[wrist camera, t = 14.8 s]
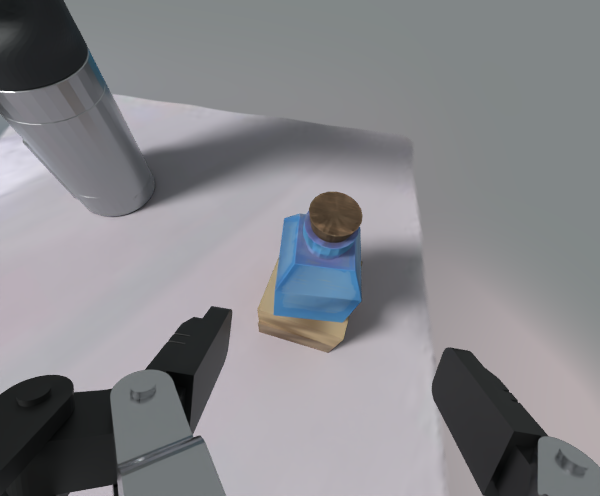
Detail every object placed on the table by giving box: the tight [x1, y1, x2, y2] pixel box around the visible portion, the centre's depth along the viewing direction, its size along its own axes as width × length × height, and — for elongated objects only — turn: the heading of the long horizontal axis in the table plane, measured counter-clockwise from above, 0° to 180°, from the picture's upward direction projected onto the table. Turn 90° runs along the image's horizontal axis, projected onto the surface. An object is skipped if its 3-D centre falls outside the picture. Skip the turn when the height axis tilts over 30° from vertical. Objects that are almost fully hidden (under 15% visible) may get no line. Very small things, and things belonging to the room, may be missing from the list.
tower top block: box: [258, 258, 362, 347], centre depth 30 cm, size 8×8×4 cm
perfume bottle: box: [274, 192, 362, 323], centre depth 22 cm, size 6×6×12 cm
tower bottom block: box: [258, 321, 334, 353], centre depth 33 cm, size 8×8×4 cm
